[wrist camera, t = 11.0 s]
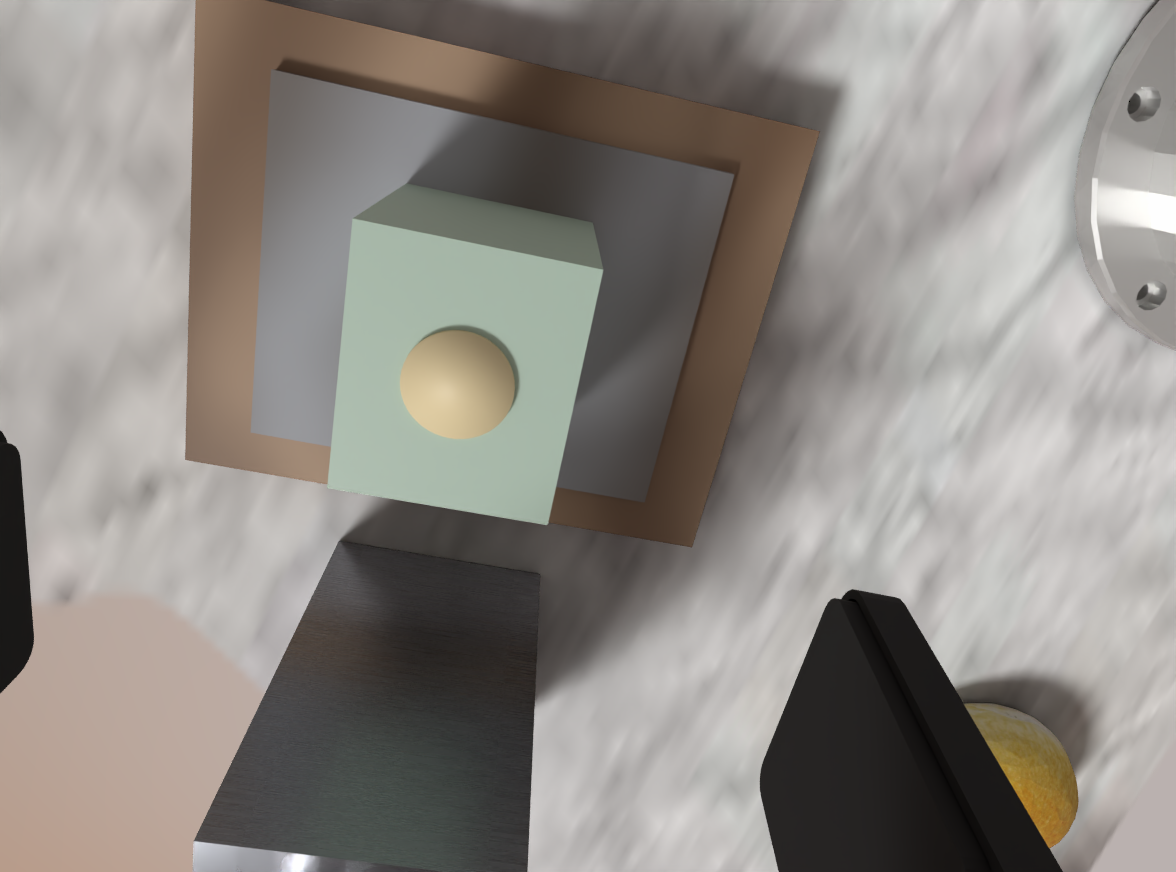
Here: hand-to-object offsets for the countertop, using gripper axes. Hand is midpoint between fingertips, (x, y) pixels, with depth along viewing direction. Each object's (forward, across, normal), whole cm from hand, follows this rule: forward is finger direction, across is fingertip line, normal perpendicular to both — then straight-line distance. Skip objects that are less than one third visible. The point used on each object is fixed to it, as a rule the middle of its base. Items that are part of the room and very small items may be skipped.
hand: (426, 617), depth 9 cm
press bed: (+16, +1, 0) cm, 16 cm away
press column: (+16, +1, +14) cm, 21 cm away
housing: (+14, +1, 0) cm, 14 cm away
